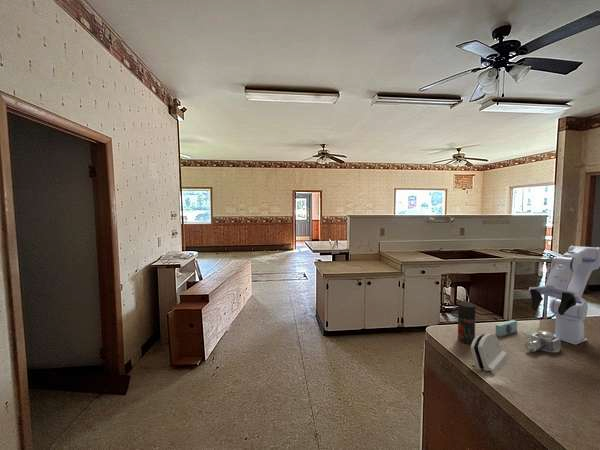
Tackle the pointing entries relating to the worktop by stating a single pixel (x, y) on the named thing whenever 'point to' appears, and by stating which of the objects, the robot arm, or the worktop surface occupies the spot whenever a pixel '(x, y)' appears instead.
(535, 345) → the elbow
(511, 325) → the pale teal rectangular bar
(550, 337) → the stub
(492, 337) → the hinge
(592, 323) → the worktop surface
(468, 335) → the deodorant
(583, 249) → the robot arm
